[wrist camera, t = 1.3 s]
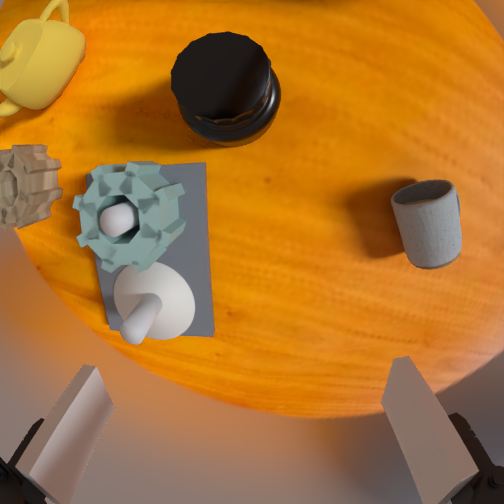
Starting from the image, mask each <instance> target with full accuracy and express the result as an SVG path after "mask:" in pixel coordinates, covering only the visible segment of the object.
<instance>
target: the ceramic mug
mask: <svg viewBox="0 0 504 504" xmlns="http://www.w3.org/2000/svg"><path fill="white" fill-rule="evenodd" d="M391 205H392V208H393V211H394V214H395V218H396V221H397V225H398V228H399V231H400V235H401V238H402V242H403V246H404V250H405V253H406V255H407V257H408V260H409V261H410V262H411V263H412V264H413V265H414V266H416V267H418V268H421V269H427V270H432V269H439V268H442V267H445V266H447V265H449V264H451V263H452V262H453V261H454V260H456V259H457V257H458V256H459V254H460V251H461V244H462V235H461V227H460V220H459V217H460V202H459V196H458V193H457V191H456V189H455V187H454V185H453V184H452V183H451V182H449V181H446V180H427V181H422V182H417V183H415V184H412V185H408V186H406V187H404V188H402V189H400V190H398V191H397V192H395V193H394V194H393V195H392V197H391Z"/></svg>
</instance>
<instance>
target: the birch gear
mask: <svg viewBox="0 0 504 504" xmlns="http://www.w3.org/2000/svg"><path fill="white" fill-rule="evenodd" d="M47 147H48V146H45V145H12V149H8V150H0V220H1V224H0V225H1V226H0V227H1V228H2V229H4V230H8V229H10V228H13V227H16V226H17V227H18V229H20V228H23V227H26V226H28V225H31V224H34V223H36V222H39V221H42V220H45V219H47V218H48V217H50V216H51V215H52V214H51V212H50V207H51V205H52V203H53V201H54V200H56V199H60V198H61V196H62V191H63V189H61V188H58V178H57V170H58V169H60V168H61V164H60V161H59V159H51V158H50V157H49V156H48V155H47V154H46V151H47Z"/></svg>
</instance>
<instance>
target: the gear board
mask: <svg viewBox="0 0 504 504" xmlns="http://www.w3.org/2000/svg"><path fill="white" fill-rule="evenodd" d="M86 182H87V192H86V193H84V194H80V195H76V196H75V198H74V203H73V207H72V208H74V209H77V210H79V212H80V221H81V229H82V234H80V235H79V236H77V237H76V238H77V240H78V242H79V244H80V247H81V248H82V247H84V246H86V245H88V246H89V247H90V248H91V249H92V250H93V251H94V254H95V261H96V266H97V272H98V277H99V282H100V287H101V292H102V297H103V301H104V306H105V310H106V314H107V318H108V322H109V326H110V330H116V331H120V334H121V336H122V337H123V339H124V340H126V341H127V342H129V343H131V344H139V343H141V342H142V341H143V339H144V337H145V336H146V337H149V338H152V339H159V340H164V339H171V338H174V337H177V336H179V335H181V336H204V337H213V336H214V331H215V327H214V315H213V302H212V288H211V273H210V256H209V237H208V215H207V187H206V163H189V164H174V165H161V164H158V163H155V162H152V161H133V162H128V163H127V164H114V165H100V166H98V167H97V168H95V169H94V170H92V171H91V173H90V174H86Z"/></svg>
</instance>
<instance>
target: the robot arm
mask: <svg viewBox="0 0 504 504" xmlns="http://www.w3.org/2000/svg"><path fill="white" fill-rule="evenodd" d="M381 403H382V405H383V407H384V410H385V412H386V414H387V416H388V419H389V421H390V423H391V425H392V428H393V430H394V432H395V435H396V437H397V439H398V442H399V444H400V446H401V449H402V451H403V454H404V456H405V459H406V461H407V464H408V466H409V469H410V471H411V473H412V476H413V479H414V481H415V484H416V486H417V489H418V492H419V494H420V497H421V500H422V502H423V504H447V503H448V502H449V501H450V500H451V502H452V504H504V467H502V466H495V465H494V464H493V463H492V461H491V460H490V458H489V456H488V455H487V453H486V451H485V450H484V448H483V446H482V445H481V443H480V441H479V440H478V439H477V438H476V435H475V433H474V432H473V430H471V427H470V425H469V424H468V422H467V421H466V419H465V418H463V417H462V416H461V415H459V414H458V413H454V414H451V415H448V416H447V414H446V413H445V411H444V409H443V408H442V406H441V405H440V403H439V402H438V400H437V398H436V397H435V395H434V394H433V392H432V390H431V389H430V387H429V386H428V384H427V383H426V381H425V380H424V378H423V377H422V375H421V374H420V372H419V371H418V369H417V368H416V366H415V365H414V363H413V362H412V360H411V359H410V358H409V356H406V357H401V358H396V359H393V363H392V367H391V370H390V374H389V378H388V381H387V385H386V388H385V391H384V395H383V398H382V401H381ZM114 408H115V407H114V404H113V402H112V400H111V398H110V396H109V394H108V392H107V390H106V388H105V385H104V383H103V381H102V378H101V376H100V374H99V372H98V369H97V367H96V366H90V365H83V366H82V368H81V369H80V370H79V372H78V373H77V374H76V376H75V377H74V379H73V380H72V381H71V383H70V384H69V385H68V387H67V388H66V390H65V391H64V392H63V394H62V395H61V397H60V398H59V400H58V401H57V402H56V404H55V406H54V407H53V408H52V410H51V411H50V413H49V414H48V416H47V417H46V419H42V418H41V419H40V420H38V421H37V422H36V423H35V424H33V425H32V427H31V428H30V430H29V431H28V434H26V436H25V438H24V440H23V441H22V442H21V444H20V445H19V447H18V448H17V450H16V451H15V453H14V454H13V456H12V458H11V459H10V461H9V462H8V463H7V464H6V463H5V462H4V461H3V460H2V458H1V457H0V504H47V503H46V501H45V500H44V499H45V497H47V498H49V499H50V500H51V501H52V502H53V503H55V504H70V502H71V500H72V497H73V495H74V493H75V491H76V488H77V486H78V484H79V481H80V479H81V477H82V475H83V473H84V470H85V468H86V466H87V464H88V462H89V460H90V457H91V455H92V453H93V451H94V449H95V447H96V445H97V443H98V441H99V438H100V436H101V434H102V432H103V430H104V428H105V426H106V424H107V422H108V420H109V418H110V416H111V414H112V412H113V410H114Z"/></svg>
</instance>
